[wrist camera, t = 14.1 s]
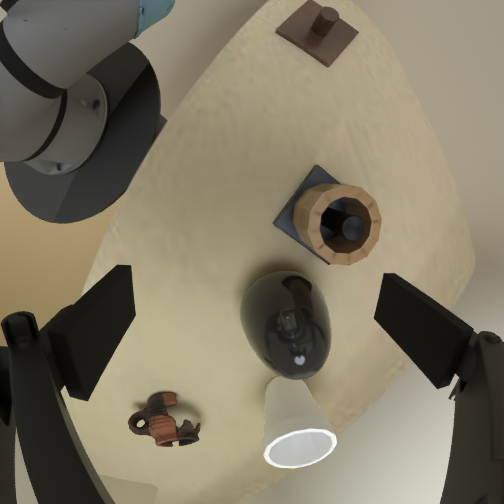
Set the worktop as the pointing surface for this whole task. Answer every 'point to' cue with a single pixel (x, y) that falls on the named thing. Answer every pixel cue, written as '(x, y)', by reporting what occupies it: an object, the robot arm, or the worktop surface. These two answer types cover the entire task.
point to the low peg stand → (318, 31)
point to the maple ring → (354, 203)
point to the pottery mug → (163, 423)
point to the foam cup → (294, 426)
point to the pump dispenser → (287, 324)
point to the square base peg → (331, 218)
